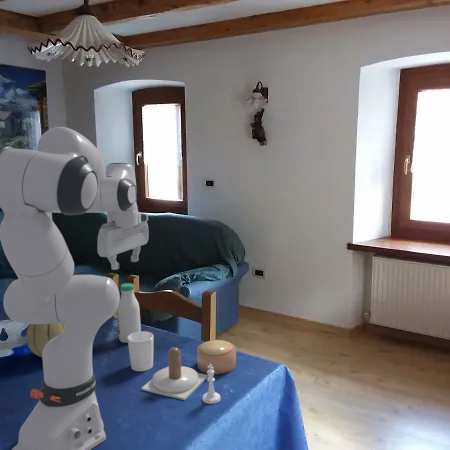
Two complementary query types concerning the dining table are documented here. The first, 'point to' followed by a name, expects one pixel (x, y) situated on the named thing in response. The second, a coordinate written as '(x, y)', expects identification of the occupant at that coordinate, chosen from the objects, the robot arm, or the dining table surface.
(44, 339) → the cantaloupe
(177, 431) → the dining table surface
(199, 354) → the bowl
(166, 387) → the lid
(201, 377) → the mat
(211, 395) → the chess piece
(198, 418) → the dining table surface
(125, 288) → the milk bottle
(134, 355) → the white cup
